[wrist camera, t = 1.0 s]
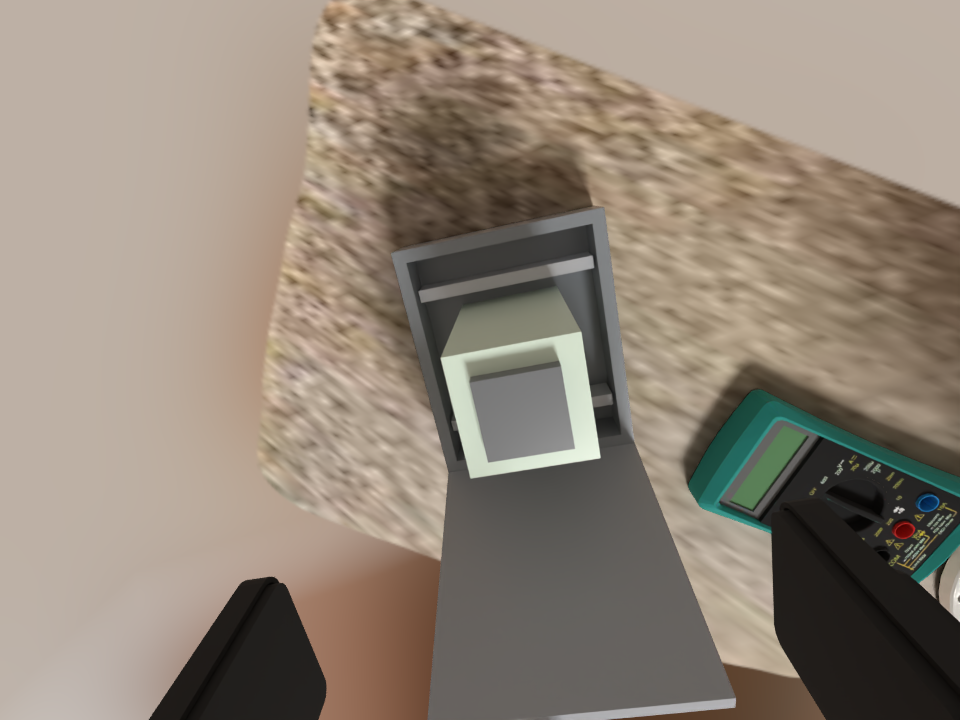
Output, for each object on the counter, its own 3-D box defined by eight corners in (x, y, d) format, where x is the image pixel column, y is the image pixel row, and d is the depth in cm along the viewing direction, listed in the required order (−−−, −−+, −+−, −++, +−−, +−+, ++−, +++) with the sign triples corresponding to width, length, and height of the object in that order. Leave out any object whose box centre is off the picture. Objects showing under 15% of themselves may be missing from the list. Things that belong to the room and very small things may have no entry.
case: (593, 205, 25) (604, 207, 22) (621, 418, 28) (634, 443, 26) (403, 246, 26) (390, 253, 23) (454, 445, 30) (448, 472, 27)
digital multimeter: (884, 569, 31) (922, 605, 28) (678, 483, 30) (696, 512, 27) (965, 477, 29) (1014, 507, 26) (745, 380, 28) (772, 400, 25)
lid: (735, 698, 15) (734, 715, 16) (634, 443, 26) (635, 459, 26) (426, 728, 16) (435, 743, 17) (448, 472, 27) (453, 487, 27)
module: (556, 286, 25) (583, 336, 16) (571, 374, 27) (603, 466, 18) (462, 304, 26) (438, 363, 17) (482, 390, 27) (469, 487, 18)
